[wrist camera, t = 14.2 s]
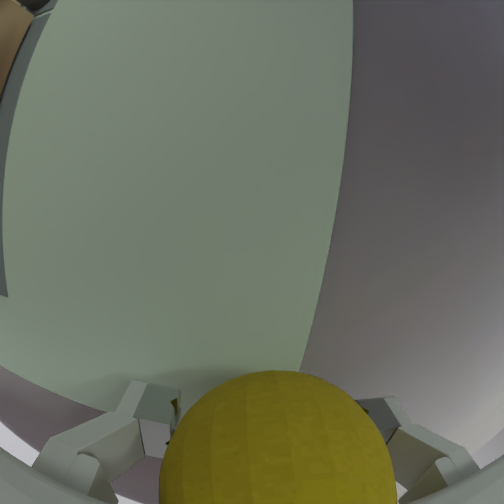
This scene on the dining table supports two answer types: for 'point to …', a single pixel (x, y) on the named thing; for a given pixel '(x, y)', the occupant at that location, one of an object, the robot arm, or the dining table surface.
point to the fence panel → (11, 34)
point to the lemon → (276, 446)
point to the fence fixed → (32, 4)
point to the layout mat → (168, 190)
